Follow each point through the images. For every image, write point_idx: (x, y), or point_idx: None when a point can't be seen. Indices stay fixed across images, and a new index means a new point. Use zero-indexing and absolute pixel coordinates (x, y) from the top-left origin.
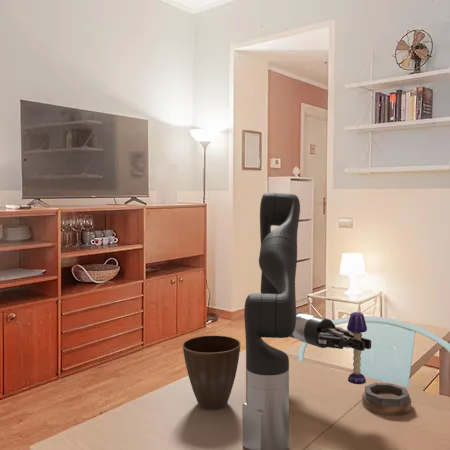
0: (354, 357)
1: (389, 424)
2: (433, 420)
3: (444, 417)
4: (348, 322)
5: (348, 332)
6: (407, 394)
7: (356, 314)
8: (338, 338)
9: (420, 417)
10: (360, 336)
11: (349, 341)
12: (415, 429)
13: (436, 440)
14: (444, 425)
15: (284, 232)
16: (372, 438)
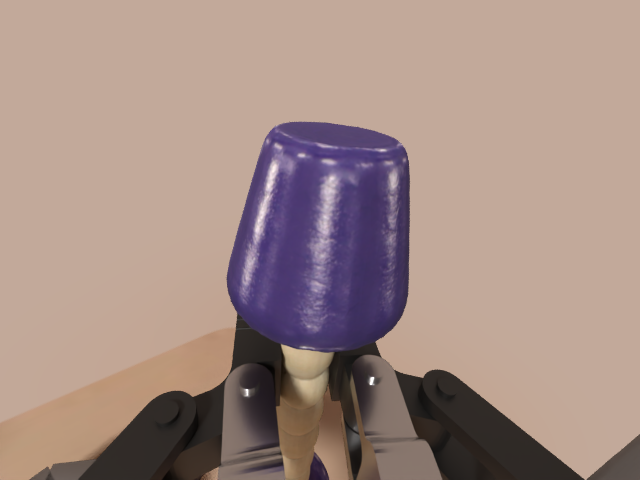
0: (318, 423)
1: None
2: (119, 395)
3: (78, 391)
4: (404, 258)
5: (282, 460)
6: (46, 474)
7: (365, 132)
8: (472, 393)
9: (119, 427)
10: (194, 399)
11: (379, 356)
12: (209, 388)
13: (226, 339)
14: (136, 366)
15: None
16: (335, 412)
